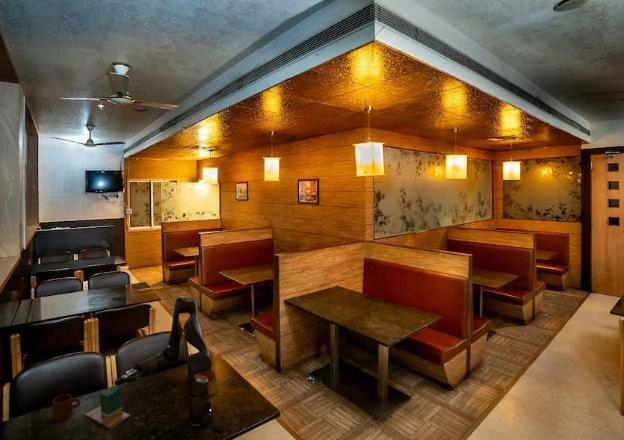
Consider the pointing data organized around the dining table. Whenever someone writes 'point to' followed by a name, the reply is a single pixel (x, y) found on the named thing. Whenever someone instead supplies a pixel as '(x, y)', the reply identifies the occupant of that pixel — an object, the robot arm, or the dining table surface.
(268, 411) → the dining table surface
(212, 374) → the bread
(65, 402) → the mug
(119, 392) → the carton
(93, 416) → the cork mat
